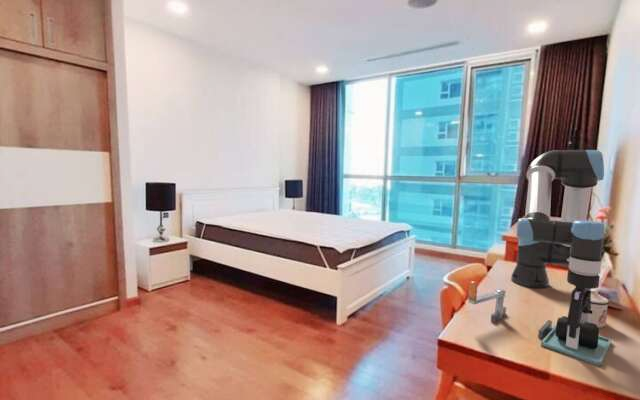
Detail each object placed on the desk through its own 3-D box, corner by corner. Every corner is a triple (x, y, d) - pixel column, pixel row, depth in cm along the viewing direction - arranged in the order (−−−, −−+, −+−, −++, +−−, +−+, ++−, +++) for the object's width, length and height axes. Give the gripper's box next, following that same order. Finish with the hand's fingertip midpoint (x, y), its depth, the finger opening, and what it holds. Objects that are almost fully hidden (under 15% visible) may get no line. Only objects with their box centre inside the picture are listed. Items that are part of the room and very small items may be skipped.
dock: (500, 312, 124) (502, 292, 123) (551, 328, 112) (553, 305, 111) (488, 320, 116) (490, 299, 116) (541, 338, 105) (543, 315, 104)
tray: (557, 326, 113) (557, 323, 113) (611, 343, 103) (611, 339, 103) (540, 345, 101) (541, 341, 100) (600, 366, 90) (600, 362, 90)
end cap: (554, 341, 102) (556, 320, 102) (557, 333, 108) (559, 313, 107) (596, 354, 96) (599, 331, 95) (597, 344, 101) (600, 323, 100)
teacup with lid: (605, 331, 111) (609, 297, 110) (571, 322, 117) (574, 290, 116) (607, 319, 120) (610, 288, 118) (575, 311, 126) (578, 281, 125)
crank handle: (507, 296, 118) (508, 276, 117) (474, 306, 109) (475, 284, 108) (498, 293, 121) (499, 273, 120) (465, 303, 112) (467, 281, 111)
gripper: (577, 262, 111) (571, 323, 113) (557, 277, 94) (551, 348, 96) (606, 267, 105) (599, 331, 107) (591, 284, 88) (583, 360, 91)
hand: (576, 339), depth 102 cm, fingers open, 13 cm apart
